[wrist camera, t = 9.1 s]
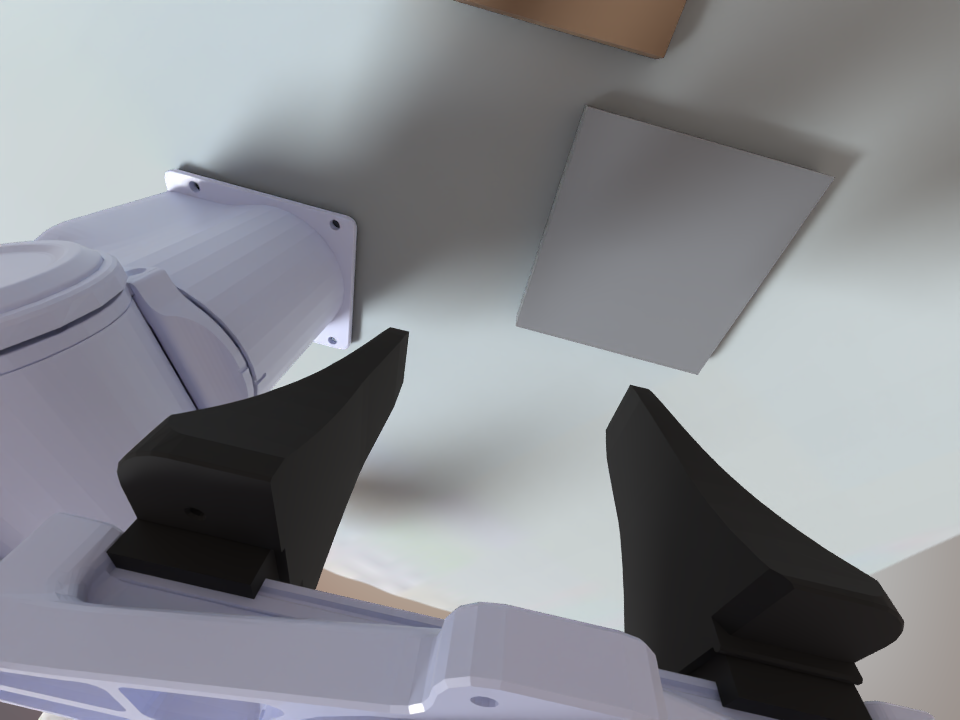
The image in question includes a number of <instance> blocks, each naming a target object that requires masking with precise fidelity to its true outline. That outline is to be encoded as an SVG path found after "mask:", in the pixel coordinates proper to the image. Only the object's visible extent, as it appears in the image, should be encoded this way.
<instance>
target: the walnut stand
mask: <svg viewBox="0 0 960 720" xmlns="http://www.w3.org/2000/svg"><path fill="white" fill-rule="evenodd" d="M454 1H458V2H461V3H464V4H468V5H471V6H475V7H478V8H482V9H485V10H488V11H492V12H495V13H499V14H502V15H506V16H509V17H513V18H516V19H519V20H523V21H526V22H530V23H533V24H537V25H540V26H543V27H547V28H550V29H554V30H557V31H561V32H564V33H568V34H571V35H574V36H578V37H581V38H585V39H588V40H592V41H595V42H599V43H602V44H605V45H609V46H612V47H616V48H619V49H623V50H626V51H629V52H633V53H636V54H640V55H643V56H647V57H650V58H654V59H659V58H664V56H665V53H666V51H667V48H668V46H669V43H670V41H671V38H672V36H673V33H674V31H675V28H676V26H677V23H678V21H679V18H680V16H681V13H682V11H683V8H684V6H685V3H686V1H687V0H454Z"/></svg>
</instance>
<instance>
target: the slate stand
mask: <svg viewBox="0 0 960 720" xmlns="http://www.w3.org/2000/svg"><path fill="white" fill-rule="evenodd" d="M834 178H835V177H832V176H829V175H826V174H823V173H820V172H817V171H813V170H810V169H806V168H803V167H799V166H796V165H792V164H789V163H785V162H782V161H778V160H775V159H771V158H768V157H764V156H761V155H757V154H754V153H750V152H747V151H743V150H740V149H736V148H733V147H729V146H726V145H722V144H719V143H715V142H712V141H708V140H705V139H701V138H698V137H694V136H691V135H687V134H684V133H680V132H677V131H673V130H670V129H666V128H663V127H659V126H656V125H652V124H649V123H645V122H642V121H638V120H635V119H631V118H628V117H624V116H621V115H617V114H614V113H610V112H607V111H603V110H600V109H596V108H593V107H589V106H586V105H585V108H584V111H583V114H582V117H581V120H580V123H579V126H578V129H577V133H576V136H575V139H574V142H573V145H572V148H571V151H570V154H569V157H568V160H567V163H566V166H565V169H564V172H563V175H562V178H561V181H560V185H559V188H558V191H557V194H556V197H555V200H554V203H553V206H552V209H551V212H550V215H549V218H548V221H547V224H546V227H545V230H544V234H543V237H542V240H541V243H540V246H539V249H538V252H537V255H536V258H535V261H534V264H533V267H532V270H531V273H530V276H529V279H528V282H527V286H526V289H525V292H524V295H523V298H522V301H521V304H520V307H519V310H518V313H517V318H516V326H518V327H521V328H525V329H529V330H532V331H536V332H540V333H544V334H547V335H551V336H555V337H559V338H562V339H566V340H570V341H573V342H577V343H581V344H585V345H588V346H592V347H596V348H600V349H603V350H607V351H611V352H614V353H618V354H622V355H626V356H629V357H633V358H637V359H641V360H644V361H648V362H652V363H655V364H659V365H663V366H667V367H670V368H674V369H678V370H682V371H685V372H689V373H693V374H696V375H698V373H699V372H700V371H701V369H702V368H703V366H704V365H705V363H706V362H707V361H708V359H709V358H710V356H711V355H712V353H713V352H714V351H715V349H716V348H717V346H718V345H719V343H720V342H721V340H722V339H723V338H724V336H725V335H726V333H727V332H728V330H729V329H730V328H731V326H732V325H733V323H734V322H735V320H736V319H737V318H738V316H739V315H740V313H741V312H742V310H743V309H744V307H745V306H746V305H747V303H748V302H749V300H750V299H751V297H752V296H753V295H754V293H755V292H756V290H757V289H758V287H759V286H760V285H761V283H762V282H763V280H764V279H765V277H766V276H767V275H768V273H769V272H770V270H771V269H772V267H773V266H774V264H775V263H776V262H777V260H778V259H779V257H780V256H781V254H782V253H783V252H784V250H785V249H786V247H787V246H788V244H789V243H790V242H791V240H792V239H793V237H794V236H795V234H796V233H797V232H798V230H799V229H800V227H801V226H802V224H803V223H804V221H805V220H806V219H807V217H808V216H809V214H810V213H811V211H812V210H813V209H814V207H815V206H816V204H817V203H818V201H819V200H820V199H821V197H822V196H823V194H824V193H825V191H826V190H827V189H828V187H829V186H830V184H831V183H832V181H833V180H834Z"/></svg>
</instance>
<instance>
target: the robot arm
mask: <svg viewBox="0 0 960 720" xmlns="http://www.w3.org/2000/svg"><path fill="white" fill-rule="evenodd" d="M165 182H166V187H167V192H163V193H160V194H156V195H153V196H150V197H146V198H143V199H139V200H136V201H133V202H129V203H126V204H122V205H119V206H115V207H112V208H109V209H105V210H102V211H98V212H95V213H92V214H88V215H85V216H81V217H78V218H75V219H71V220H68V221H64V222H62V223H60V224H57V225H55V226H53V227H51V228H49V229H48V230H46V231H45V232H43V233H42V234H41V235H40V236H39V237H37V238H36V239H35V240H34V241H25V242H14V243H5V244H0V702H4V703H8V704H12V705H17V706H21V707H25V708H29V709H34V710H38V711H42V712H46V713H50V714H53V715H57V716H61V717H65V718H69V719H73V720H935V719H934V717H933V716H932V715H931V714H929V713H927V712H925V711H921V710H917V709H912V708H908V707H904V706H900V705H895V704H891V703H887V702H880V701H865V702H863V701H862V699H861V697H860V695H859V693H858V691H857V689H856V687H855V685H859V684H862V681H863V678H862V676H861V675H860V673H859V671H858V669H857V667H856V665H855V662H857V661H859V660H860V659H862V658H864V657H866V656H868V655H871V654H873V653H874V652H877V651H878V650H880V649H883V648H885V647H886V646H888V645H889V644H891V643H893V642H894V641H896V640H897V638H898V637H899V636H900V635H901V633H902V631H903V627H904V620H903V619H902V617H901V616H900V614H899V613H898V611H897V609H896V608H895V606H894V605H893V603H892V602H891V600H890V599H889V597H888V596H887V594H886V593H885V591H884V590H883V588H882V587H881V585H880V584H879V582H878V581H877V580H875V579H874V578H872V577H870V576H869V575H867V574H865V573H864V572H862V571H861V570H859V569H857V568H856V567H854V566H852V565H851V564H849V563H848V562H846V561H844V560H843V559H841V558H839V557H838V556H836V555H834V554H833V553H831V552H830V551H828V550H827V549H825V548H823V547H822V546H821V545H819V544H818V543H816V542H815V541H813V540H812V539H810V538H809V537H807V536H806V535H804V534H803V533H801V532H800V531H799V530H797V529H796V528H794V527H793V526H792V525H790V524H789V523H787V522H786V521H785V520H783V519H782V518H781V517H779V516H778V515H777V514H775V513H774V512H773V511H772V510H770V509H769V508H768V507H766V506H765V505H764V504H763V503H761V502H760V501H759V500H758V499H756V498H755V497H754V496H753V495H752V494H750V493H749V492H748V491H747V490H746V489H744V488H743V487H742V486H741V485H740V484H739V483H738V482H737V481H735V480H734V479H733V478H732V477H731V476H730V475H729V474H728V473H727V472H725V471H724V470H723V469H722V468H721V467H720V466H719V465H718V464H717V463H716V462H715V461H714V460H713V459H712V458H711V457H710V456H709V455H708V454H707V453H706V452H705V451H704V450H703V449H702V448H701V446H700V445H699V444H698V443H697V442H696V441H695V440H694V439H693V438H692V437H691V436H690V435H689V433H688V432H687V431H686V430H685V429H684V428H683V427H682V426H681V424H680V423H679V422H678V421H677V420H676V419H675V417H674V416H673V415H672V414H671V413H670V412H669V411H668V409H667V408H666V407H665V406H664V405H663V404H662V403H661V401H660V400H659V399H658V398H657V397H656V396H655V395H654V394H653V393H652V392H651V391H650V390H649V389H646V388H641V387H637V386H633V385H630V386H629V388H628V390H627V392H626V394H625V396H624V397H623V399H622V401H621V403H620V405H619V407H618V408H617V410H616V412H615V414H614V416H613V418H612V420H611V421H610V423H609V425H608V427H607V429H606V452H607V462H608V468H609V474H610V479H611V485H612V490H613V495H614V501H615V506H616V511H617V516H618V522H619V529H620V538H621V551H622V565H623V586H624V629H625V633H624V632H622V631H619V630H615V629H610V628H606V627H602V626H597V625H593V624H589V623H584V622H580V621H576V620H571V619H567V618H563V617H558V616H554V615H550V614H545V613H541V612H537V611H532V610H528V609H524V608H519V607H515V606H511V605H506V604H498V603H488V602H477V603H472V604H467V605H461V606H459V607H458V608H457V609H455V610H454V611H453V612H452V613H451V614H450V615H449V616H448V617H446V618H445V620H444V619H440V618H435V617H431V616H426V615H422V614H418V613H413V612H409V611H405V610H400V609H396V608H392V607H387V606H383V605H379V604H375V603H370V602H366V601H361V600H357V599H353V598H348V597H344V596H340V595H335V594H331V593H327V592H322V591H318V590H315V589H316V586H317V584H318V581H319V578H320V575H321V572H322V570H323V567H324V564H325V561H326V559H327V556H328V553H329V550H330V548H331V545H332V542H333V540H334V537H335V534H336V532H337V529H338V526H339V524H340V521H341V519H342V516H343V513H344V511H345V508H346V506H347V503H348V500H349V498H350V495H351V493H352V490H353V488H354V486H355V483H356V481H357V478H358V476H359V473H360V471H361V469H362V467H363V465H364V463H365V461H366V459H367V457H368V455H369V453H370V451H371V449H372V447H373V446H374V444H375V442H376V440H377V438H378V436H379V434H380V432H381V431H382V429H383V427H384V425H385V423H386V421H387V419H388V417H389V415H390V413H391V412H392V410H393V408H394V405H395V403H396V400H397V397H398V395H399V392H400V389H401V386H402V384H403V379H404V371H405V362H406V354H407V345H408V337H409V332H408V331H404V330H400V329H396V328H391V327H390V328H388V329H387V330H385V331H384V332H382V333H381V334H379V335H378V336H376V337H375V338H373V339H372V340H370V341H369V342H367V343H366V344H365V345H363V346H362V347H360V348H358V349H357V350H355V351H354V352H352V353H351V354H349V355H347V356H346V357H344V358H342V359H341V360H339V361H337V362H335V363H333V364H332V365H330V366H328V367H326V368H325V369H323V370H321V371H319V372H317V373H314V374H312V375H310V376H308V377H306V378H303V379H301V380H299V381H296V382H294V383H291V384H289V385H286V386H283V387H280V388H277V389H274V390H272V391H270V390H271V389H272V388H273V387H274V385H275V384H276V383H277V382H278V381H279V380H280V379H281V378H282V376H283V375H284V374H285V373H286V372H287V371H288V370H289V368H290V367H291V366H292V365H293V364H294V363H295V362H296V360H297V359H298V358H299V357H300V356H301V355H302V354H303V352H304V351H305V350H306V349H307V348H308V347H309V346H310V345H311V343H312V342H315V343H319V344H323V345H326V346H330V347H334V348H338V349H343V350H344V349H347V348H348V347H349V346H350V344H351V334H352V315H353V296H354V277H355V258H356V239H357V224H356V222H355V221H354V220H353V219H352V218H351V217H349V216H347V215H343V214H339V213H336V212H332V211H328V210H325V209H321V208H317V207H314V206H310V205H306V204H303V203H299V202H295V201H292V200H288V199H284V198H281V197H277V196H273V195H270V194H266V193H262V192H259V191H255V190H251V189H248V188H244V187H240V186H237V185H233V184H229V183H226V182H222V181H218V180H215V179H211V178H207V177H204V176H200V175H196V174H193V173H189V172H185V171H182V170H178V169H172V170H168V171H166V173H165ZM195 182H196V183H197V184H198V185H199V187H200V190H199V189H197V187H196V186H195ZM333 220H336V221H338V223H339V224H340V228H337V227H335V226H334V224H333ZM331 337H333V338H335V339H336V341H334V340H333V339H332V338H331ZM854 684H855V685H854Z"/></svg>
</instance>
